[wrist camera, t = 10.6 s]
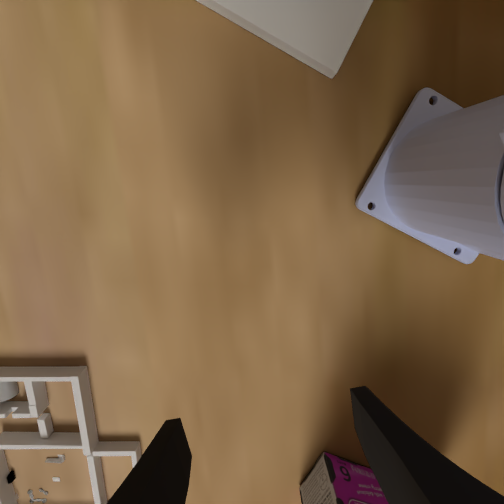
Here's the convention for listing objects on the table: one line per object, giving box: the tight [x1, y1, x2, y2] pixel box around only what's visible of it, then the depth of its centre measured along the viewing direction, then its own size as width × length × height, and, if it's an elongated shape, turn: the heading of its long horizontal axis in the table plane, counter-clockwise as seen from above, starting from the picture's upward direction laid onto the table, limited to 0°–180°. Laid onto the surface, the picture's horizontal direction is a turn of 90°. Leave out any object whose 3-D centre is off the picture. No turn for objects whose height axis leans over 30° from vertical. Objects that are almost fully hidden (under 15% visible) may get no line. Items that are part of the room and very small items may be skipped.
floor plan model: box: [0, 366, 141, 504], centre depth 23 cm, size 19×25×2 cm
